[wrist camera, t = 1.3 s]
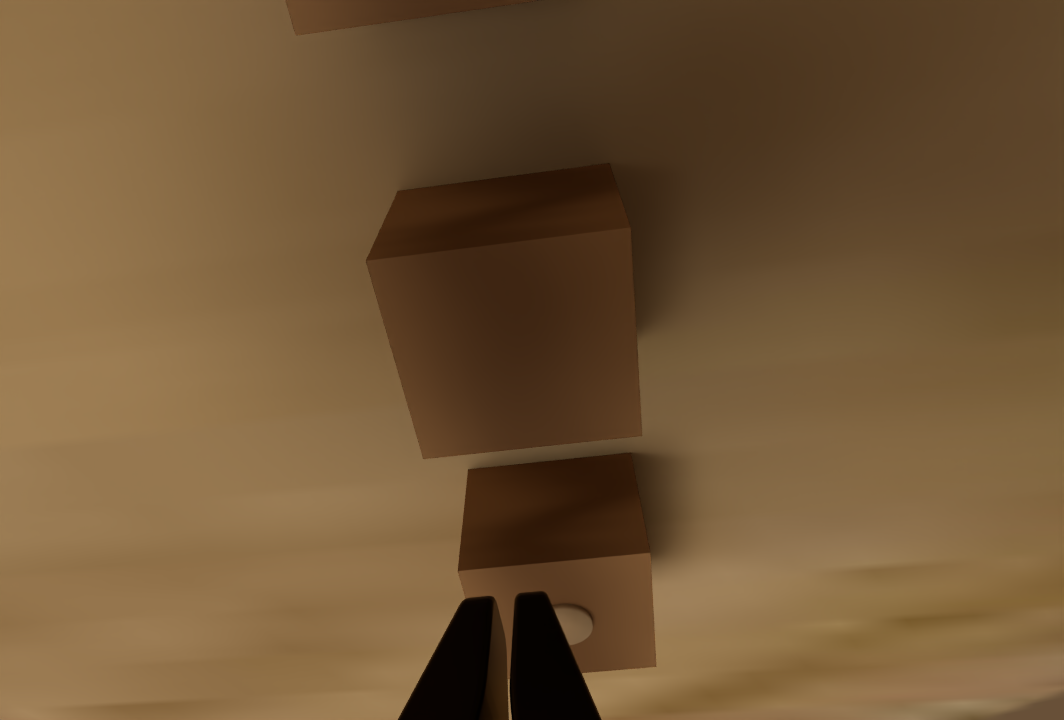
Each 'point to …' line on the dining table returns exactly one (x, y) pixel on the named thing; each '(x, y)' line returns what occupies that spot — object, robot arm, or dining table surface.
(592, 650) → the one dot block
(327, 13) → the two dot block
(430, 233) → the plain block
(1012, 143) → the dining table surface
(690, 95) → the dining table surface
